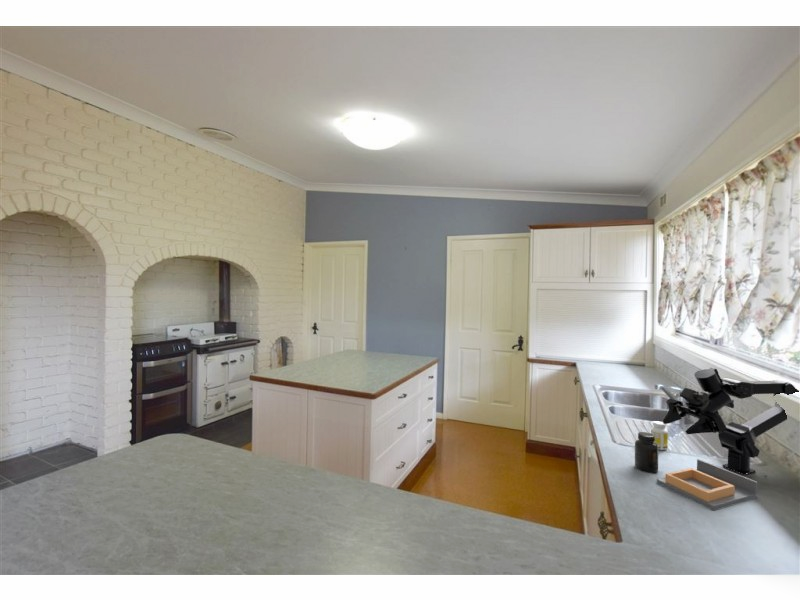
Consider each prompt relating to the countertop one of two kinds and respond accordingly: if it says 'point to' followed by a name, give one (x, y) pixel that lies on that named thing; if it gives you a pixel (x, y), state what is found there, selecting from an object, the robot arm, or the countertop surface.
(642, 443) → the supplement bottle
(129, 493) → the countertop surface
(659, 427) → the supplement bottle
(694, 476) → the housing
